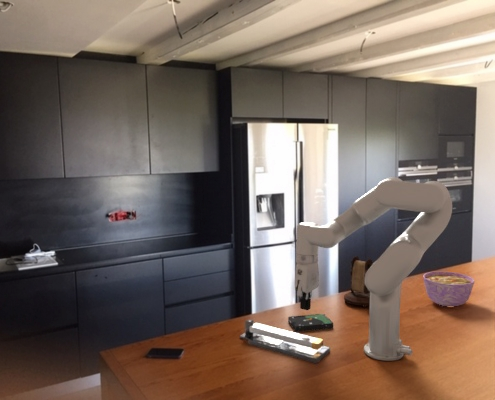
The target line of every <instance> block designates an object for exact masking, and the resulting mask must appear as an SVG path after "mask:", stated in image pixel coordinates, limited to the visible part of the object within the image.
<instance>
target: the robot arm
mask: <svg viewBox="0 0 495 400" xmlns="http://www.w3.org/2000/svg"><path fill="white" fill-rule="evenodd" d="M392 209H396V210H402V211H411V212H419V214H417V216H416V218H415V219H414V220H413V221H412V222H411V224H410V225H409V226H408V227H406V229H405V230H404V231H403V232H402V234H400V235H399V236H398V237H396V238H395V239H394V240H393V241H392V242H391V244H390V245H389V246H388V247H387V248H386V249H385V251H383V253H382V254H381V255H380V256H379V257H378V258H377V259H376V260H375V261H374V262H373V264H372V266H371V267H370V268H369V269H368V271H367V272H366V273H365V279H364V284H365V285H366V287H367V289H368V290H369V291H370V305H369V310H368V311H369V312H368V313H369V321H368V322H369V324H368V342H367V343H366V344H365V345H364V346H363V352H364V353H365V355H367V356H368V357H370V358H371V359H375V360H379V361H386V362H391V361H398V360H401V359H402V358H403V357H404V355H406V356H412V355H413V350H412V349H411V346H409V345H404V344H403V340H402V339H400V321H401V320H400V319H401V317H400V315H401V293H402V284H403V282H404V281H405V279H407V278H408V276H409V275H410V274H411V273H412V272H413V271H414V270H415V269H416V267H417V266H418V265H419V263H420V262H421V260H422V258H423V256H424V253H425V252H427V250H428V249H429V248H430V247H431V246H432V245H433V243H434V242H435V241H436V240H437V239H438V237H440V236H441V234H442V233H443V232H444V231H445V229H446V228H447V226H448V224H449V222H450V220H451V217H452V214H453V200H452V198H451V194H450V192H449V190H448V188H447V187H446V186H445V184H444V183H442V182H441V181H436V180H428V181H426V182H416V181H415V182H414V181H405V180H402V179H401V178H399V177H396V176H395V177H394V176H391V177H387V178H385V179H383V180H381V181H379V183H378V184H377V185H376V186H374V187H373V188H371V189H370V190H369V191H368V192H366V193H365V194H363V195H362V196H360V197H359V198H358V199H356V200H355V201H353V203H352V204H351V206H350V207H348V209H346V210H345V211H344V212H343V213H341V214H339V215H338V216H337V217H335V219H332V220H331V221H330V222H328V223H326V224H324V225H321V226H319V224H318V223H316V222H311V221H310V222H309V221H304V222H299V223H298V224H297V226H296V227H297V228H296V250H295V251H296V253H295V255H296V256H295V262H296V265H295V272H294V273H295V274H294V290H295V291H296V296H297V297H299V299H300V301H299V303H300V304H299V307H300V309H301V310H305V311H309V310H311V299H312V295H313V291H314V290H316V289H317V288H319V285H320V284H319V283H320V271H319V269H320V267H319V248H322V249H331V248H333V247H335V246H337V245H338V244H339V243H340V242H342V241H343V240H345V239H346V238H347V237H349V236H350V235H352V234H353V233H355V232H356V231H357V230H359V229H361V228H362V227H364V226H367V225H370V224H371V223H372V222H374V221H376V220H377V219H378V218H379V217H381V216H383V215H384V214H386V213H387V212H388V211H390V210H392Z"/></svg>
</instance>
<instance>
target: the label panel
mask: <svg viewBox="0 0 495 400" xmlns="http://www.w3.org/2000/svg"><path fill="white" fill-rule="evenodd" d="M239 338H240V339H241V340H242V339H243V340H245V341H247V343H248V345H251V346H254V347H258V348H261V349H264V350H267V351H271V352H275V353H278V354H281V355H286V356H289V357H292V358H296V359H299V360H303V361H307V362H310V363H313V364H317V363H319V362H320V361H321V360H322V359H324V357H326V356H327V355H328V354H329V353H330V352H331V347H329V346H326V345H323V346H322V347H321V348H320V349H319V350H315V349H312V348H308V347H304V346H301V345H297V344H293V343H289V342H286V341H282V340H278V339H274V338H271V337H267V336H263V335H259V334H256V333H254V334H253V335H251V336H248V335H245V332H244V333H242V334H240V335H239Z"/></svg>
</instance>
